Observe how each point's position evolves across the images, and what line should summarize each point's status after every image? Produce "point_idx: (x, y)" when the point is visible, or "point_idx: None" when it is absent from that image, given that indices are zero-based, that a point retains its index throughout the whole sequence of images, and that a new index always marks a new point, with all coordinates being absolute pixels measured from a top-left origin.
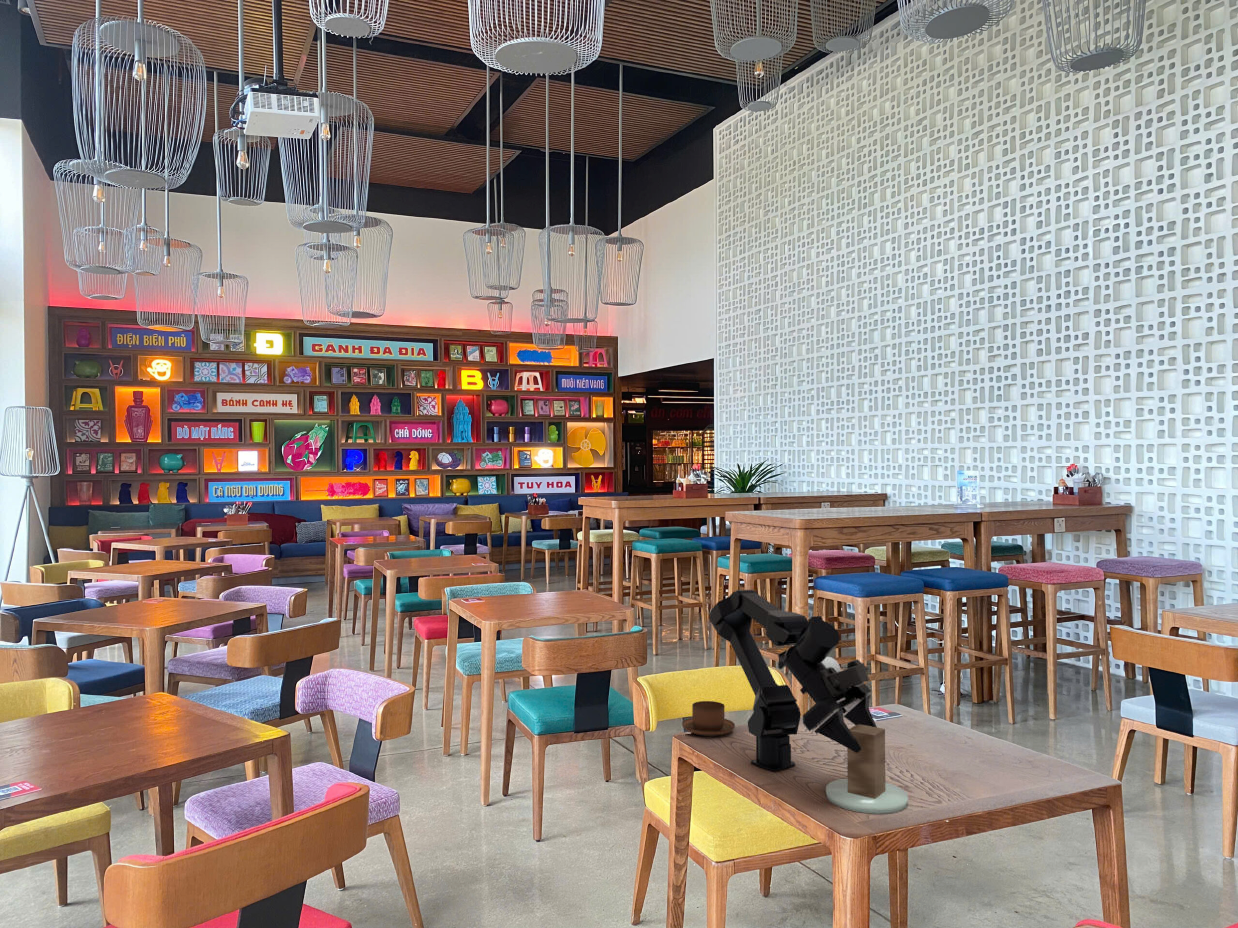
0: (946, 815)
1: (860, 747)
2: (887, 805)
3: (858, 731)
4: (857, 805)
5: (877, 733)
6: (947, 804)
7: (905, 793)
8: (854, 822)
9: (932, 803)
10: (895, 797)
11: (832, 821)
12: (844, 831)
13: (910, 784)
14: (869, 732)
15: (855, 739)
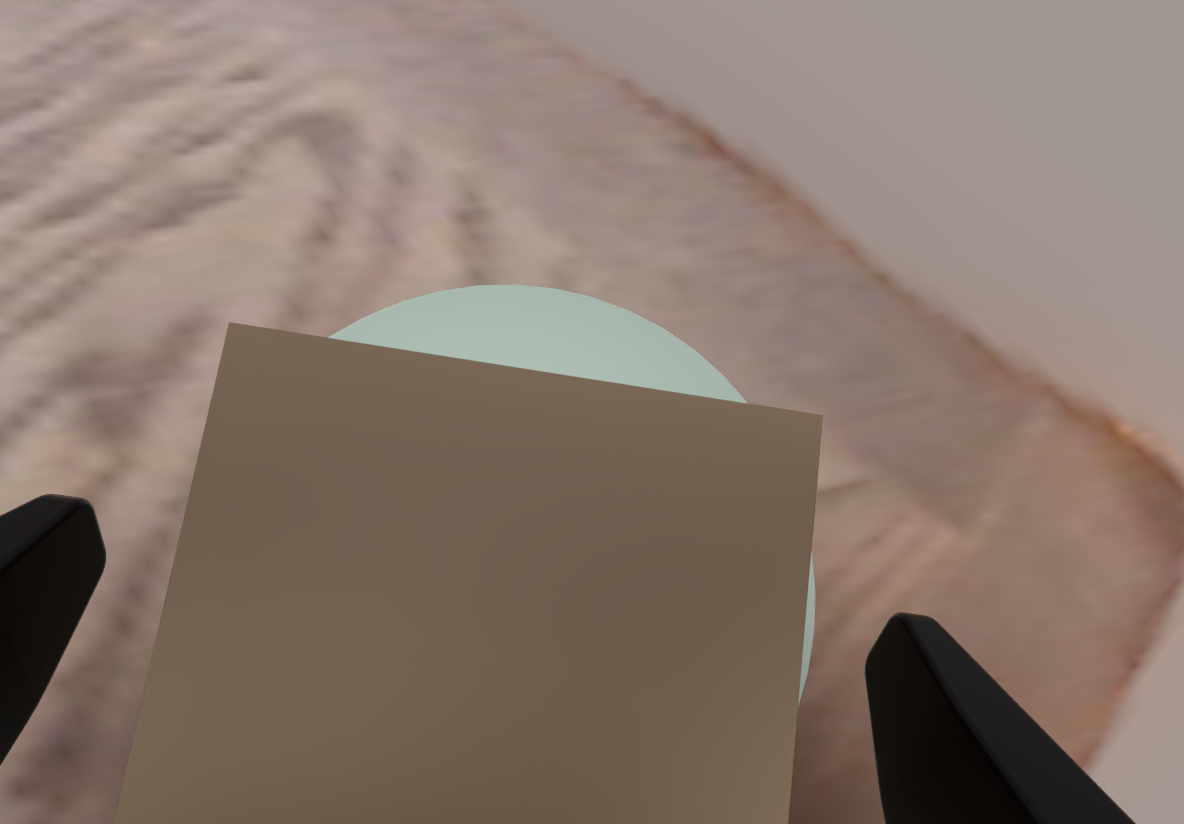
0: (551, 64)
1: (911, 625)
2: (711, 383)
3: (722, 791)
4: (811, 576)
5: (655, 391)
6: (345, 75)
7: (397, 314)
8: (977, 543)
9: (375, 161)
10: (521, 364)
11: (1042, 676)
12: (1141, 561)
13: (21, 354)
14: (670, 555)
15: (985, 738)
